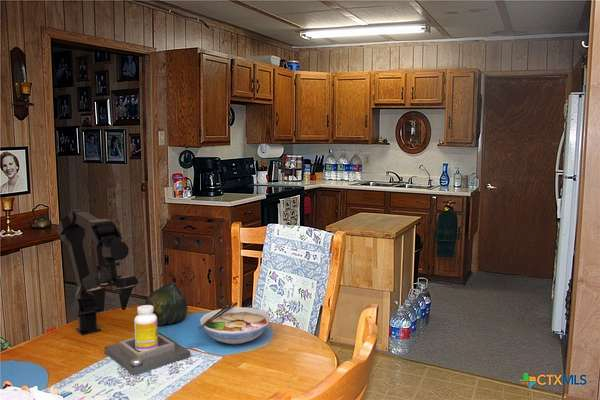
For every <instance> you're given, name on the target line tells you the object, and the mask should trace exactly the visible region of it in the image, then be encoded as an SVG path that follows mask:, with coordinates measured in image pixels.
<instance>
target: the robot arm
mask: <svg viewBox="0 0 600 400" xmlns="http://www.w3.org/2000/svg"><path fill="white" fill-rule="evenodd" d="M56 231H57V234H58V235H59V238H60V240H61V242H62V243H63V244H64V245H65V246H66V247H68V253H69V258H70V260H71V264H72V268H73V272H74V277H75V280H76V285H77V289H76V292H75V295H74V299H75V300H74V301H73V305H72V306H71V313H72V315H73V316H75V317H76V318H78V327H76V328H75V331H76V332H77V333H78V334H80V335H82V336H84V335H88V334H92V333H95V332H100V331H102V328H101V327H99V326H98V317H97V316H98V313H102V312H103V311H105V304H106V301H105V300H106V287H112V286H113V287H114V286H115V287H116V288H115V291H116V292H117V294H118V297H119V303H120V307H121V310H122V311H125V310H126V309H127V306H128V303H129V301H130V297H131V295H132V293H133V291H134V290H133V289H134V288H136V285H139V280H138V277H137V276H136V275H126V276H122V275H121V274H119V272H118V267H119V266H121V265H120V261H122V260H125V259H126V258H127V256H128V255H129V246H128V245H127V244H126V242H124V241H122V240H123V237H122V234H121V232H120V231H119V229H118V227H117V225H116V223H114V221H113V220H112V219H106V218H105V219H99V218H98V217H97V216H94V215H93V214H91V213H90V212H88V211H87V210H86V209H85V210H84V209H75V210H71V211H69V212H68V215H66V216H65V217H63V218H62V219H60V221H59V222H58V224H57V227H56ZM86 231H87V232H88V233H87V235H88V236H89V238H90V239H91V240H92V241H93V242H94V243H93V245H92V247H93V248H94V251H95V260H96V265H94V267H93V271H92V272H91V271H90V268H89V263H88V259H87V255H86V251H85V247H84V244H83V242H84V239H85V237H86Z"/></svg>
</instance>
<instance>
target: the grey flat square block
mask: <svg viewBox="0 0 600 400" xmlns="http://www.w3.org/2000/svg"><path fill="white" fill-rule="evenodd" d="M104 354H105V355H107V356H108V357H109V358H110V359H112V360H113V361H114V362H115V363H117V364H118V365H119V366H120V367H122V368H123V369H124V370H126V371H127V372H128V373H129V374H131V375H132V376H137V375H139V374H142V373H145V372H148V371H149V372H150V371H152V370H155V369H158V367H159V368H161V366H162V367H164V365H165V366H168V365H171V364H174V363H177V362H176V361H178V362H180V360H181V361H183V359H184V360H186V358H187V359H190V358H191V350H189V349H187V348H186V347H185V346H183V345H181V344H179V343H177V342H176V341H174V340H173V339H171V338H169V337H167V336H166V335H164V334H163V333H161V332H158V347H155V348H152V349H148V350H145V351H141V352H140V351H137V350H136V348H135V337H133V338H129V339H126V340H121V341H119V342H117V343H115V344H110V345H107V346H104ZM189 357H190V358H189ZM173 362H174V363H173ZM170 363H171V364H170ZM167 364H168V365H167Z"/></svg>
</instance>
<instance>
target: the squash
mask: <svg viewBox="0 0 600 400" xmlns="http://www.w3.org/2000/svg"><path fill="white" fill-rule="evenodd" d="M144 305H151V306H153V308H154V311H153V314H155V315H156V316H157V326H161V327H162V326H165V325H166V324H169V325H171V324H175V323H179V322H182V321H183V320H184V319H185V318H186V317H187V314H188V309H189V308H188V301H187V297H186V296H185V294H184V293H183V292H182V290H180V287H179V286H178V285H177V284H176V283H175V282H169V283H166V284H164V285H162V286H161V287H159V288H157V289H156V290H154V291H153V292H151V293H150V294H149V295H148V296H147V298H146V301H145V302H144Z"/></svg>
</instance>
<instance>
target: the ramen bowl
mask: <svg viewBox="0 0 600 400" xmlns="http://www.w3.org/2000/svg"><path fill="white" fill-rule="evenodd" d="M237 305H238V302H233V301H230V302H229V303H228V304H227V305H225V306H224V307H223V308H221V309H219V308H218V309H215V310H212V311H210V312H207V313H204V315H202V317H201V318H200V319H199V320H200V324H201V325H200V326H199V327H197V330H198V329H199V330H200V329H203V330H204V331H205V332H206V334H207V335H209V337H211V338H213V339H214V340H215V341H217V342H220V343H225V344H228V345H234V346H235V345H241V344H244V343H247V342H250V341H253V340H255V339H256V338H258V337H259V336H261V335H262V334H263V333H264V332H265V330H266V328H267V327H268V325H269V324H270V321H271V320H272V318H271V316H270V314H269V313H268V312H266V311H264V310H262V309H259V308H258V309H257V308H254V307H241V306H238V307H236V306H237Z"/></svg>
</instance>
